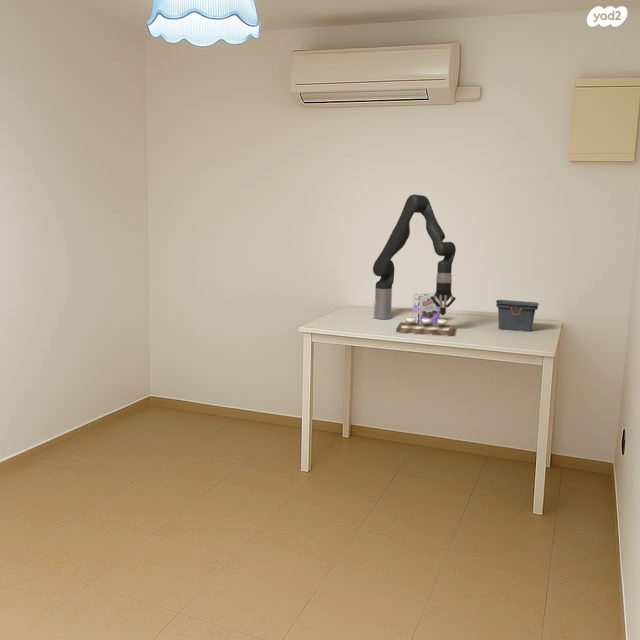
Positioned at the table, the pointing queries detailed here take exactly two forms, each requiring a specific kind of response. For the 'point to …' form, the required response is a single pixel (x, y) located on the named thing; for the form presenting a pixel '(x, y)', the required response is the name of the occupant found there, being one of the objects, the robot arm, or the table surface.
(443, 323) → the right button
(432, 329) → the button board
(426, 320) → the middle button
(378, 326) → the table surface
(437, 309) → the candy box
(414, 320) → the left button
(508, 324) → the storage bin
